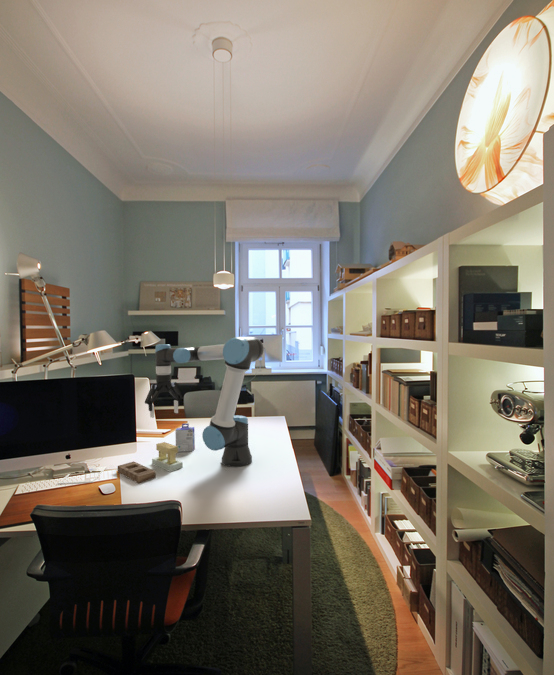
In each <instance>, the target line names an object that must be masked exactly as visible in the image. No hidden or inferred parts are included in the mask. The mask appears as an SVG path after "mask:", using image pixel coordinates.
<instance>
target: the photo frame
mask: <svg viewBox="0 0 554 675" xmlns="http://www.w3.org/2000/svg"><path fill="white" fill-rule="evenodd" d="M88 468H89V470H90V473H93V472H92V471H101V472H98V474H97V475H96V477H94V478H93V479H92V480H82V481H65V480H66V479H67V478H69V475H70V474H69V473H68V474H67V475H65V476H64V477H63V478H62V479H61V480H60V481H58V482H57V485H71V484H86V483H87V484H88V483H94V482H95V481H96V480H97V479H98V478H99V477H100V476H101V475H102V474H103V473H104V472H105V471H106V470H107V469H108V466H96V467H88ZM105 469H106V470H105ZM104 470H105V471H104ZM103 471H104V472H103ZM102 472H103V473H102ZM101 473H102V474H101ZM100 474H101V475H100ZM99 475H100V476H99ZM70 476H71V475H70ZM98 476H99V477H98ZM97 477H98V478H97ZM96 478H97V479H96ZM62 481H63V482H62Z"/></svg>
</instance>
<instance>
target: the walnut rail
mask: <svg viewBox="0 0 554 675" xmlns="http://www.w3.org/2000/svg"><path fill="white" fill-rule="evenodd" d="M117 473H118V474H120V475H122V476H124V477H126V478H127V479H129V480H132V481H133V482H135V483H137V484H141V483H144V482H147V481H148V482H149V481H150V480H153V479H156V470H153V469H151V468H149V467H147V466H145V465H143V464H141V463H138V462H136V461H130V462H127V463H124V464H120V465H117Z"/></svg>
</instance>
